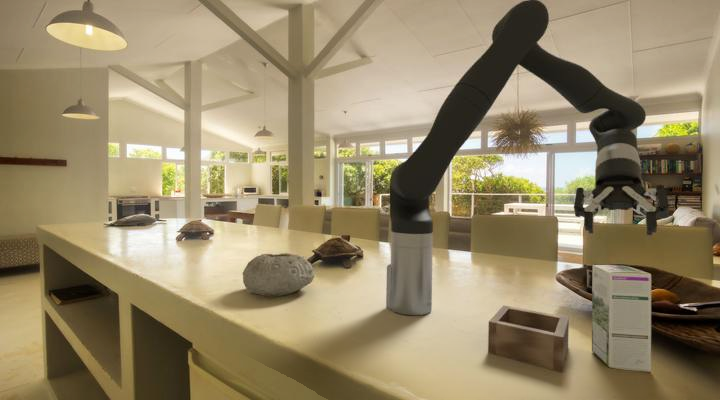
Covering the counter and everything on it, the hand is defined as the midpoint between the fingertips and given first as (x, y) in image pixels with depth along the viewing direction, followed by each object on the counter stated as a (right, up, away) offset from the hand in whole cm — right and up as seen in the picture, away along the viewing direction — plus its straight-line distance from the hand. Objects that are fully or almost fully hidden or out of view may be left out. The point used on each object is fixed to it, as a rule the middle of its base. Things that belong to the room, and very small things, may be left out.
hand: (619, 231), depth 62 cm
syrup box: (-7, -19, -9) cm, 23 cm away
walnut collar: (-19, -19, -6) cm, 28 cm away
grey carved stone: (-68, -18, +26) cm, 75 cm away
